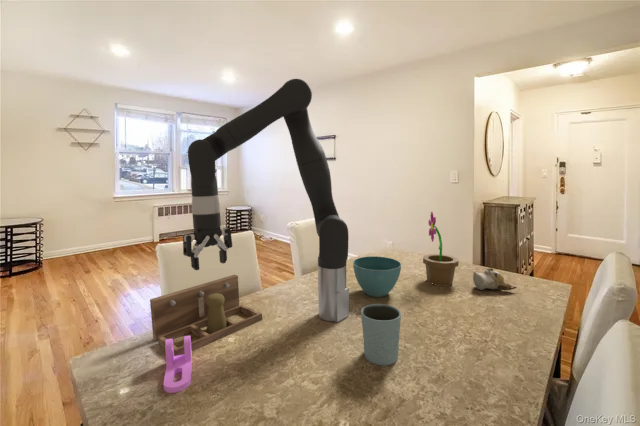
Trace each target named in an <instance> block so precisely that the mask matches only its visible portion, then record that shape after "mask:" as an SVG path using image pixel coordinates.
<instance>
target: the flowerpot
mask: <svg viewBox="0 0 640 426" xmlns="http://www.w3.org/2000/svg"><path fill="white" fill-rule="evenodd" d="M436 219H437V218H436V216H434V212H433V211H430V219H428V226H429V227H430V228H429V230H428V237H430V239H431V242H434V239H435V235H437V236H438V241H439V246H438V250H439V253H432V254H431V253H430V254H426V255H423V257H422V264H424V265H425V271H426V281H428V282H427V283H429V282H430V283H433V284H436V285H435V286H437V285H449V286H451V285H450V284H452V285H453V283H454V281H453V280H454V277H455V272H456V268H457V267H458V266H459V264H460V263H459V261H460V260H459V258H458V257H455V256H453V255H447V254H443V242H442V235H441V233H440V231H439V229H438V227H437V226H436V222H437V220H436ZM430 283H429V284H430ZM433 284H432V285H433Z"/></svg>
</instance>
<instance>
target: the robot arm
mask: <svg viewBox="0 0 640 426" xmlns="http://www.w3.org/2000/svg"><path fill="white" fill-rule="evenodd" d="M312 97H313V91H312V88H311V86H310V85H309V83H307V81H305V80H303V79H301V78H292V79H289V80H287V81H286V82H285V83H283V85H282V86H280V88H278V89H277V90H276V91H275V92H274V93H273V94H272V95H270V96H269V97H268V98H266V99H265V100H263V101H262V102H260V103H259V104H257V105H256V106H254V107H252V108H251V109H249V110H247V111H245V112H244V113H242V114H240V115H238V116H237V117H235V118H233V119H231V120H230V121H227V122H226V123H225V124H223V125H221V126H219V127H218V128H217V130H215V131H214V132H213V133H212V134H209V135H208V136H206V137H205V138H203V139H196V140H194V141H192V142H191V143H190V144H189V146H188V149H187V158H188V167H189V171H190V177H191V181H190V183H191V184H190V186H191V213H192V226H193V234H183V235H182V250H183V251H182V254H183V255H184V257H188V258H190V267H191V269H193V270H195V271H199V270H200V261H199V255H200V253H201V251H203V250H204V248H210V246H211V247H215V246H217V248H218V249H219V251H218V255H219V263H220V264H226V262H227V261H228V254H227V252H228V249H230V248H233V239H232V231H231V228H230V227H229V228H228V227H223V228H221V226H222V225H221V224H222V221H221V207H220V205H221V204H220V200H219V199H220V198H219V191H218V190H219V188H218V180H217V176H216V162H217V160H218V159H220V158H221V157H223V156H225V155H226V154H227V153H229V152H231V151H233V150H234V149H237V148H238V147H240V146H242V145H243V144H245V143H246V142H248V141H250V140H251V139H252V138H254V137H255V136H257V135H258V134H259V133H261V132H262V131H263V130H265V129H266V128H267V127H269V126H270V125H272V124H273V123H275V122H276V121H278V120H279V119H284V122H285V124H286V126H287V127H286V128H287V129H288V133H289V135H290V140H291V145H292V150H293V153H294V157H295V161H296V165H297V168H298V171H299V175H300V177H301V181H302V184H303V187H304V189H305V192H306V194H307V197H308V199H309V202H310V206H311V208H312V213H313V218H314V224H315V230H316V234H317V236H318V243H319V245H318V246H319V247H318V249H319V250H318V251H319V252H318V256H317V281H318V282H317V283H318V284H317V289H318V290H317V292H318V293H317V294H318V295H317V296H318V297H317V298H318V302H317V303H318V317H319V318H320V319H322V320H324V321H326V322H336V323H339V322H341V321H343V320H344V319H346V318H347V317H349V316H350V288H348V287H347V261H348V256H349V227H348V224H347V223H346V222H345V221H344V220H343V219H342V218H341V217H340V215H339V212H338V211H337V207H336V203H335V201H334V198H333V192H332V187H333V186H332V178H331V172H330V171H331V170H330V166H329V164H328V160H327V156H326V153H325V151H324V148H323V146H322V145H321V143H320V141H319V139H318V137H317V136H316V134H315V132H314V130H313V128H312V124H311V120H310V116H309V111H308V107H309V106H310V104H311V102H312V99H313V98H312ZM221 236H223V240H222V239H221ZM194 241H195V243H193V242H194ZM192 243H193V246H192Z"/></svg>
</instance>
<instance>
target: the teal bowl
mask: <svg viewBox="0 0 640 426" xmlns="http://www.w3.org/2000/svg"><path fill="white" fill-rule="evenodd" d="M352 264H353V265H352V268H353V273H354V276H355V279H356V281H357V283H358V285H359V287H360V288H361V289H362V291H363V292H364V293H365V294H366V295H368V296H369V297H372V298H382V297H386V296H387V295H388V294H389V293H391V292H392V290H393V289H394V287H395V286H396V284H397V282H398V280H399V278H400V275H401V271H402V269H401V268H402V263H401V262H400V261H399V260H397V259H395V258H391V257H386V256H378V255H377V256H375V255H374V256H362V257H358V258H356V259H354V260H353V262H352Z"/></svg>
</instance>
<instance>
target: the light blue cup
mask: <svg viewBox="0 0 640 426" xmlns="http://www.w3.org/2000/svg"><path fill="white" fill-rule="evenodd" d="M360 315H361V316H360V317H361V318H360V319H361V327H362V338H363V353H364V358H365V359H366V360H367V361H368V362H370V363H371V364H374V365H379V366H390V365H393V364H395V363H396V362H397V361H398V359H399V351H400V350H399V349H400V346H399V343H400V332H401V319H402V312H401V310H400V309H398V308H397V307H395V306H393V305H389V304H385V303H383V304H382V303H375V304H374V303H373V304H368V305H366V306H364V307H362V308H361V310H360Z"/></svg>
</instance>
